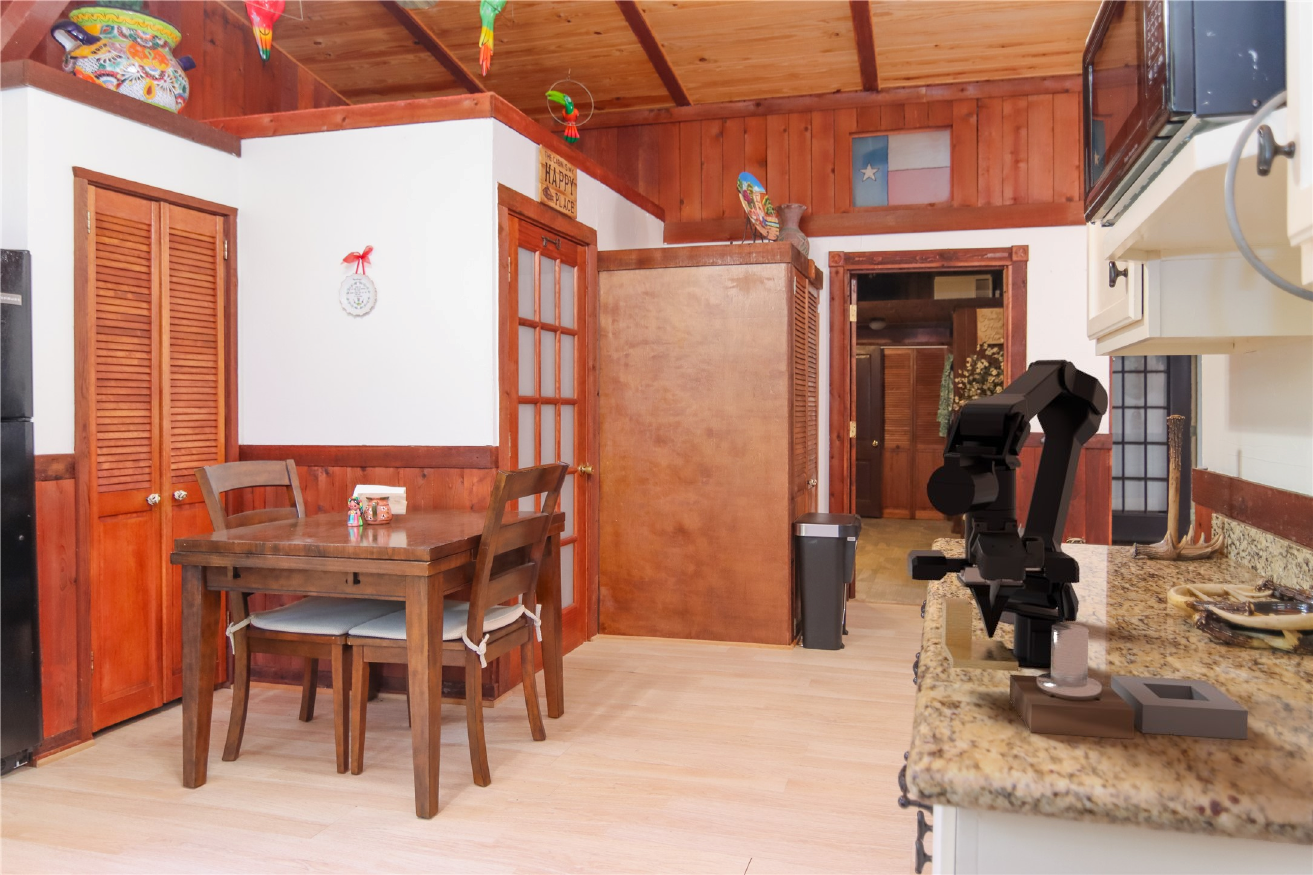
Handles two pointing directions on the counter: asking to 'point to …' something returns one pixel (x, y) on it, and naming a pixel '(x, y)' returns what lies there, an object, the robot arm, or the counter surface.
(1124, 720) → the walnut socket block
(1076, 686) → the steel pin
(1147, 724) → the grey square collar
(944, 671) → the counter surface
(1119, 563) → the counter surface
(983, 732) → the counter surface
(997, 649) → the brass key
